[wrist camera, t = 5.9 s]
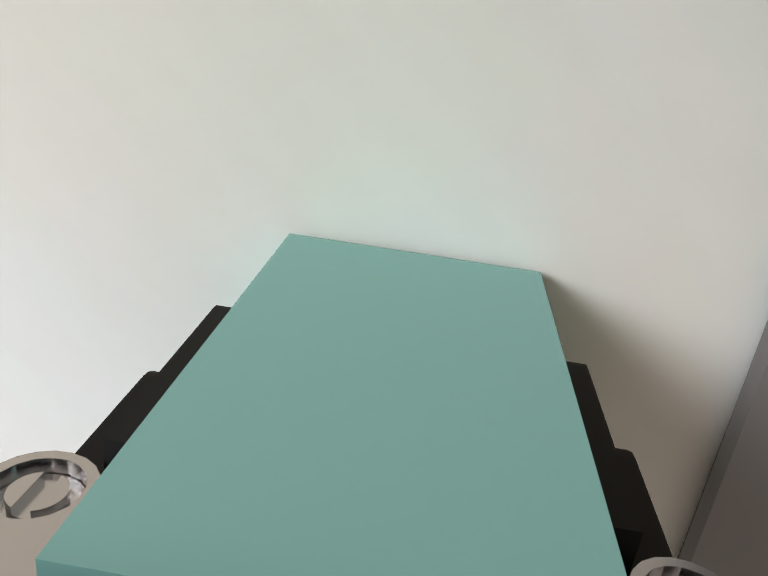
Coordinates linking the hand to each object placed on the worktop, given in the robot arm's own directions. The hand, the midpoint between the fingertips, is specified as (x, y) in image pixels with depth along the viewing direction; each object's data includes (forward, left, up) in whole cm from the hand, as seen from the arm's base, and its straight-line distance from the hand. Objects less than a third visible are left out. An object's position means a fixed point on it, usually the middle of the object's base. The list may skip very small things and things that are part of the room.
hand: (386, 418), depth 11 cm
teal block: (0, 0, -2) cm, 2 cm away
